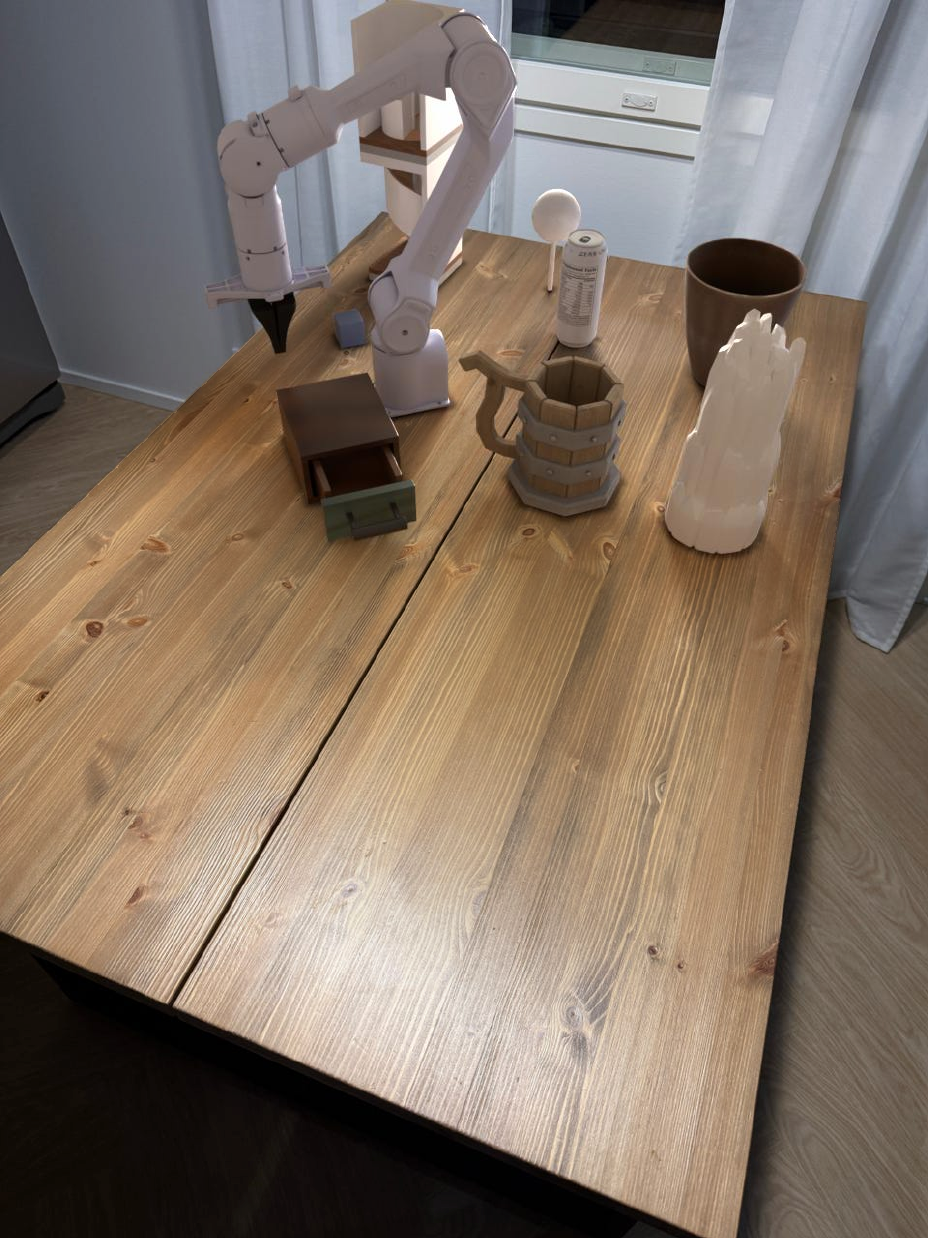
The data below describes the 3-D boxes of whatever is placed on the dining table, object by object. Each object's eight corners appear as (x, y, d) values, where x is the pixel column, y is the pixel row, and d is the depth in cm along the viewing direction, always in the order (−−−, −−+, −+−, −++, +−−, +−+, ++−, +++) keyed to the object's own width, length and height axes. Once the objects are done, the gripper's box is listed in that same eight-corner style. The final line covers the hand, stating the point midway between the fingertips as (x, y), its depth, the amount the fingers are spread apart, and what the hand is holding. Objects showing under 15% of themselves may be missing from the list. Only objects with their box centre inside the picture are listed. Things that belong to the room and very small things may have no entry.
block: (359, 331, 130) (357, 308, 128) (365, 344, 128) (364, 321, 125) (335, 335, 129) (332, 312, 127) (341, 348, 127) (339, 325, 124)
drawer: (427, 544, 100) (426, 509, 96) (337, 566, 97) (332, 531, 93) (386, 455, 110) (383, 420, 106) (303, 473, 108) (297, 438, 104)
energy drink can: (603, 335, 130) (617, 234, 119) (582, 354, 127) (595, 252, 115) (567, 322, 132) (578, 222, 121) (546, 340, 129) (555, 239, 118)
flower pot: (750, 420, 117) (785, 308, 105) (646, 384, 122) (667, 274, 110) (787, 365, 125) (822, 256, 113) (688, 334, 130) (712, 227, 118)
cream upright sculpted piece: (758, 560, 100) (829, 367, 81) (662, 546, 101) (710, 352, 82) (757, 497, 107) (822, 306, 88) (667, 485, 108) (712, 293, 89)
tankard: (628, 464, 111) (648, 358, 99) (595, 527, 103) (612, 420, 92) (482, 422, 116) (485, 317, 105) (440, 479, 109) (438, 372, 97)
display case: (404, 248, 147) (393, -3, 120) (462, 262, 144) (464, 8, 117) (369, 279, 140) (350, 20, 114) (429, 295, 137) (424, 33, 111)
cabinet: (401, 483, 108) (399, 436, 103) (308, 504, 105) (300, 456, 100) (371, 419, 116) (367, 372, 111) (284, 436, 114) (275, 389, 108)
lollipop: (573, 279, 141) (583, 181, 129) (572, 302, 136) (582, 203, 125) (528, 276, 141) (534, 179, 130) (525, 299, 136) (532, 200, 125)
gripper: (201, 269, 96) (226, 377, 106) (332, 247, 99) (344, 355, 109) (191, 239, 100) (216, 346, 110) (317, 220, 103) (330, 325, 114)
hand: (279, 349), depth 110 cm, fingers closed
